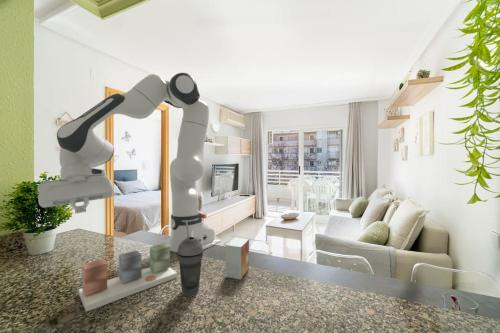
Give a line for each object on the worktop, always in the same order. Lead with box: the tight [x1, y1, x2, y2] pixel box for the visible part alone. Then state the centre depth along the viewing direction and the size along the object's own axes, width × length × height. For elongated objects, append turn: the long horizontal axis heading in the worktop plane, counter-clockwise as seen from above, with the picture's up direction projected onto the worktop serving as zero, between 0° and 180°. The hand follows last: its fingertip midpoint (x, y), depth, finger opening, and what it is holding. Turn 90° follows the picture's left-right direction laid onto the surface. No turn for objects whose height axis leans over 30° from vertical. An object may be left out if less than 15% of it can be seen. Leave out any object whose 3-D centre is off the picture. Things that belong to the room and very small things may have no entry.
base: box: [78, 266, 178, 313], centre depth 69 cm, size 24×10×2 cm, turn 134°
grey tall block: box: [118, 250, 142, 283], centre depth 69 cm, size 5×4×7 cm
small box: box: [224, 237, 250, 280], centre depth 77 cm, size 8×6×10 cm
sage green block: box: [149, 243, 171, 272], centre depth 76 cm, size 5×4×7 cm
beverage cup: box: [176, 222, 204, 297], centre depth 65 cm, size 7×7×20 cm
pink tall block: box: [81, 258, 108, 296], centre depth 63 cm, size 5×4×7 cm
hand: (80, 211), depth 75 cm, fingers closed
